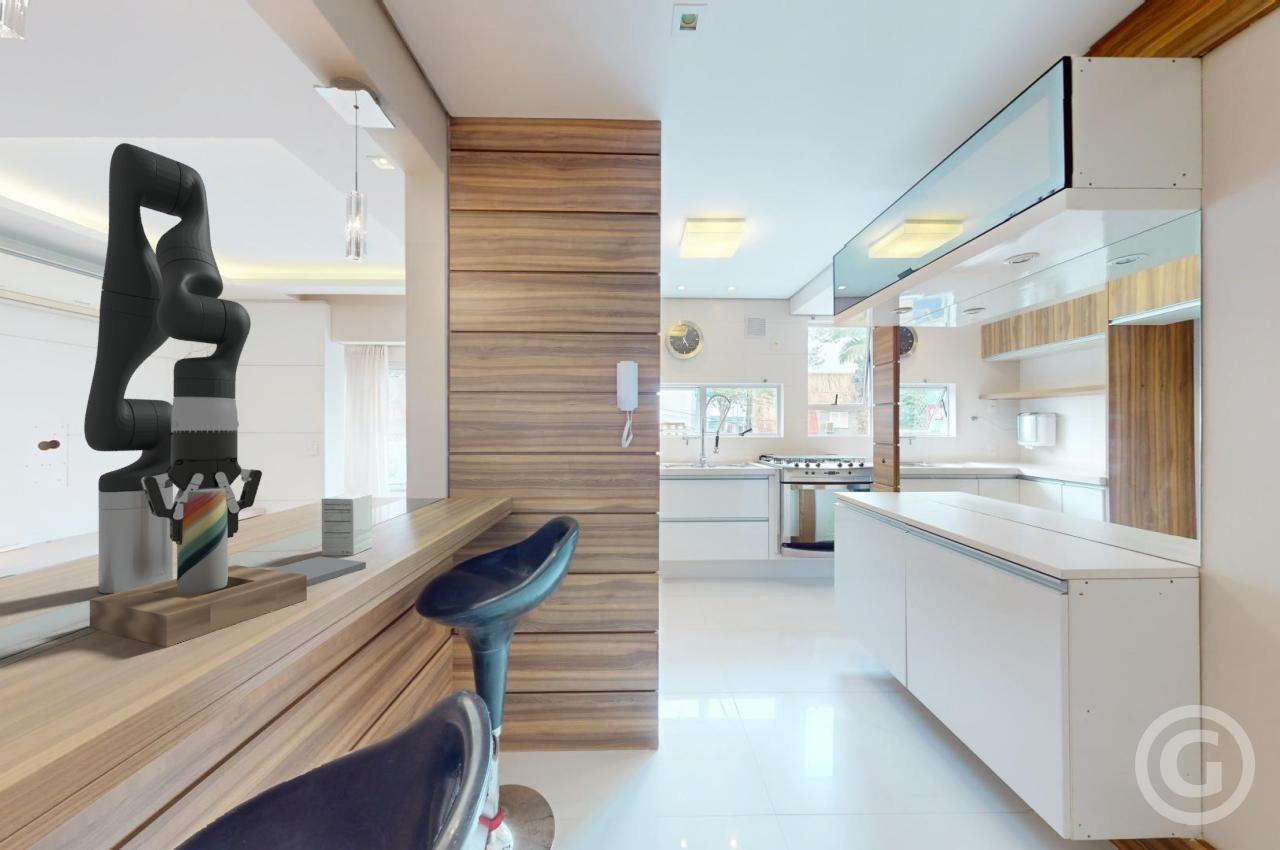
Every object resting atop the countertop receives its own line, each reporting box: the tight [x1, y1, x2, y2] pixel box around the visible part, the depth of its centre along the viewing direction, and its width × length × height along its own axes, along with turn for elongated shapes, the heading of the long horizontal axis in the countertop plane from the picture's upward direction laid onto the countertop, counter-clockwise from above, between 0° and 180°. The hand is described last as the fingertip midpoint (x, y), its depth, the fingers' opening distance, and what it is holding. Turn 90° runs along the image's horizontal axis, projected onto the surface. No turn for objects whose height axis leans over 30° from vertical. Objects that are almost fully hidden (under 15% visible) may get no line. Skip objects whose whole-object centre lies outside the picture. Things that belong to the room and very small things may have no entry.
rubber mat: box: [268, 556, 367, 587], centre depth 93 cm, size 13×13×1 cm
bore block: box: [89, 564, 308, 648], centre depth 73 cm, size 18×18×4 cm
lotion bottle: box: [176, 460, 229, 595], centre depth 73 cm, size 6×6×20 cm
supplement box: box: [321, 493, 373, 556], centre depth 110 cm, size 7×7×13 cm
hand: (205, 539), depth 73 cm, fingers closed on lotion bottle, 5 cm apart
